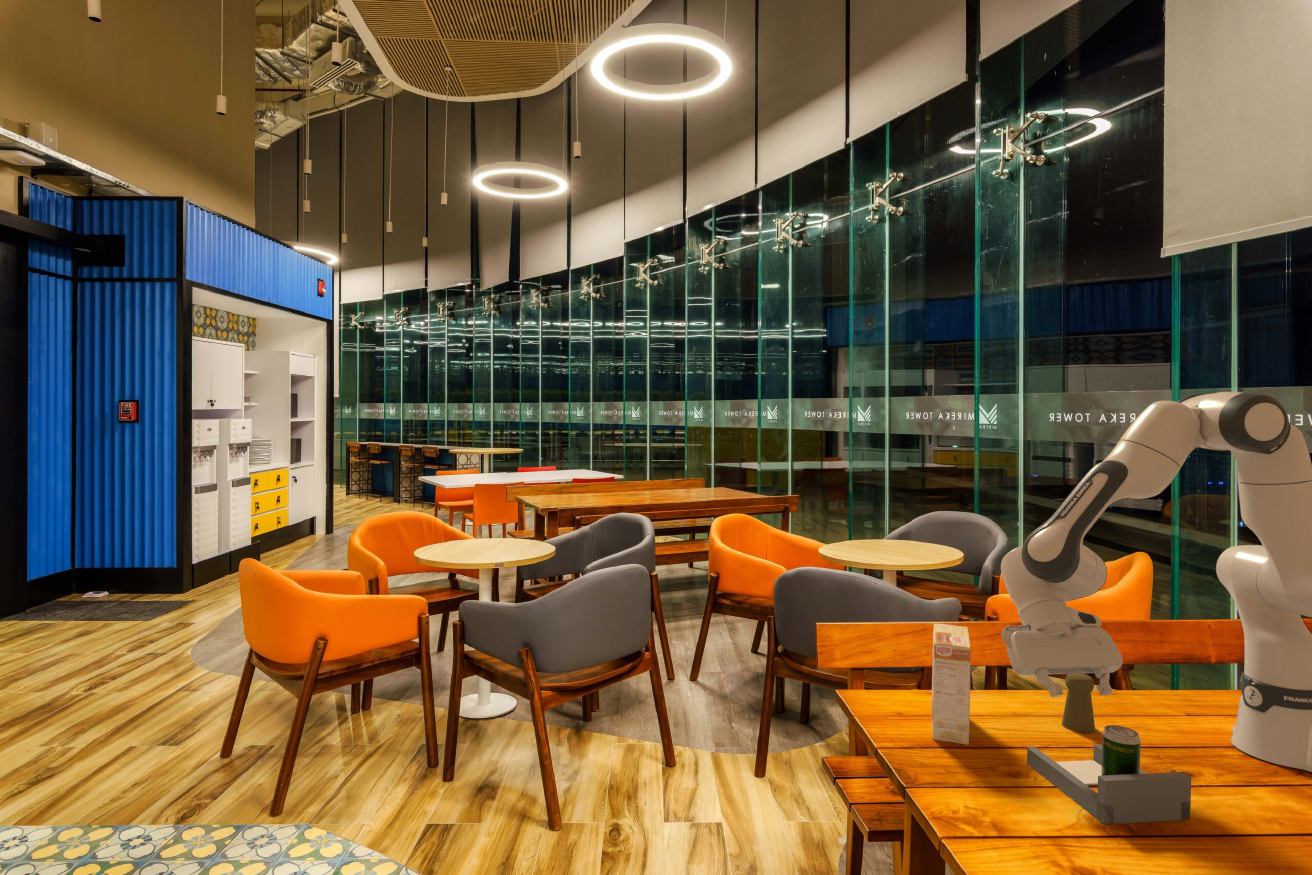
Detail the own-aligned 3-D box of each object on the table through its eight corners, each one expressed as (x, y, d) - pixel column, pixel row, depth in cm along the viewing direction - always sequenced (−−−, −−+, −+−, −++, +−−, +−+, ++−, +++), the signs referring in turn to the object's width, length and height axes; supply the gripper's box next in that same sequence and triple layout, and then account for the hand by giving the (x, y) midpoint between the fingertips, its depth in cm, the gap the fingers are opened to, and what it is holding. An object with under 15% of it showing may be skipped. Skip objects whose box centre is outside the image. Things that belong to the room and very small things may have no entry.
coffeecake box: (931, 710, 158) (933, 622, 157) (966, 716, 155) (968, 626, 154) (930, 739, 144) (932, 642, 143) (969, 745, 141) (971, 647, 140)
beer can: (1145, 811, 118) (1147, 739, 117) (1109, 809, 119) (1112, 737, 118) (1128, 794, 123) (1130, 725, 123) (1094, 792, 124) (1096, 723, 124)
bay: (1101, 759, 136) (1102, 723, 135) (1190, 819, 116) (1191, 776, 115) (1026, 763, 134) (1027, 726, 134) (1103, 824, 114) (1105, 780, 114)
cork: (1100, 734, 146) (1101, 680, 146) (1067, 731, 148) (1069, 678, 147) (1088, 722, 152) (1090, 670, 152) (1057, 719, 154) (1058, 668, 153)
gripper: (1005, 617, 136) (1035, 688, 127) (1106, 615, 138) (1144, 685, 129) (991, 634, 141) (1019, 703, 131) (1089, 632, 143) (1124, 700, 133)
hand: (1082, 694), depth 130 cm, fingers open, 8 cm apart
